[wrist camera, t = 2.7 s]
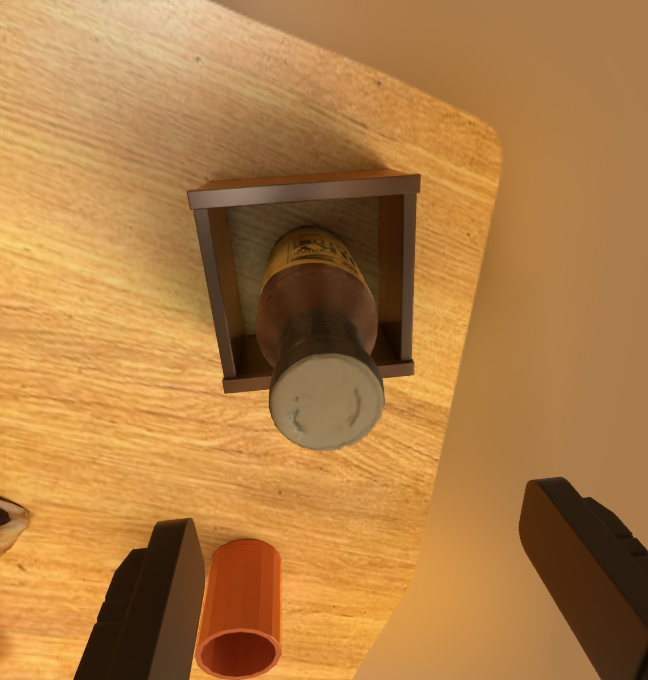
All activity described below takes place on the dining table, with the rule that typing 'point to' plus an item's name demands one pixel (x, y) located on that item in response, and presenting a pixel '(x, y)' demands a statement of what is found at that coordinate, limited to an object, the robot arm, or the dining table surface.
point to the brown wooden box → (391, 186)
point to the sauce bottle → (319, 342)
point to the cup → (241, 612)
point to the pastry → (11, 524)
